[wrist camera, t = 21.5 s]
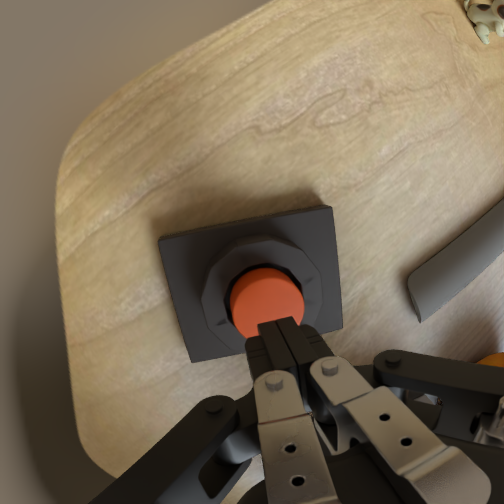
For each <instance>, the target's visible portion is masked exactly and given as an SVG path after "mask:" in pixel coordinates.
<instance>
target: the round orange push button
mask: <svg viewBox="0 0 504 504" xmlns="http://www.w3.org/2000/svg"><path fill="white" fill-rule="evenodd" d="M230 308H231V313H232V318H233V322H234V325H235V327H236V328H237V330H238V331H239V333H240V334H241V335H243V336H244V337H245V338H249V337H253V336H258V335H259V334H258V328H257V324H259V323H264V322H268V321H272V320H274V321H275V320H277V319H281V318H285V317H289V316H292V317H293V318H294V320H295V321H296V323H297V324H298V326H299V325H300V323H301V321H302V318H303V315H304V299H303V297H302V294H301V292H300V291H299V289H298V288H297V287H296V286H295V284H294V283H293V282H292V281H291V279H290V278H289V277H288V276H287V275H286V274H284V273H283V272H281V271H279V270H277V269H274V268H257V269H254V270H251V271H249V272H247V273H245V274H244V275H243V276H241V277H240V278H239V279H238V281H237V282H236V283H235V285H234V286H233V288H232V291H231V294H230Z"/></svg>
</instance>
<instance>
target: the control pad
mask: <svg viewBox="0 0 504 504" xmlns="http://www.w3.org/2000/svg"><path fill="white" fill-rule="evenodd" d="M158 245H159V249H160V253H161V258H162V262H163V266H164V270H165V273H166V277H167V281H168V285H169V289H170V292H171V296H172V300H173V303H174V307H175V310H176V314H177V317H178V321H179V324H180V328H181V331H182V334H183V338H184V341H185V344H186V348H187V351H188V354H189V357H190V360H191V362H192V363H195V362H200V361H206V360H211V359H217V358H222V357H227V356H232V355H237V354H241V353H246V351H245V346H244V344H245V342H246V340H247V338H245V337H244V336H243V335H241V334H240V333H239V331H238V330H237V328H236V327H235V325H234V322H233V318H232V313H231V308H230V294H231V291H232V288H233V286H234V285H235V283H236V282H237V281H238V279H239V278H240V277H241V276H243V275H244V274H245V273H247V272H249V271H251V270H254V269H257V268H274V269H277V270H279V271H281V272H283V273H284V274H286V275H287V276H288V277H289V278H290V279H291V281H292V282H293V283H294V284H295V286H296V287H297V288H298V289H299V291H300V292H301V294H302V297H303V299H304V315H303V318H302V321H301V323H300V325H304V324H308V325H310V326H312V327H314V328H315V329H316V330H317V331H318V333H319V334H320V335H321V334H324V333H328V332H332V331H335V330H339V329H342V328H343V319H342V303H341V289H340V277H339V265H338V255H337V245H336V235H335V226H334V218H333V210H332V207H331V206H328V205H319V206H314V207H308V208H302V209H297V210H291V211H286V212H280V213H275V214H270V215H264V216H259V217H254V218H249V219H243V220H238V221H233V222H228V223H223V224H218V225H213V226H208V227H203V228H198V229H194V230H189V231H184V232H179V233H174V234H170V235H165V236H161V237H160V238H159V240H158ZM300 325H299V326H300Z"/></svg>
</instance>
